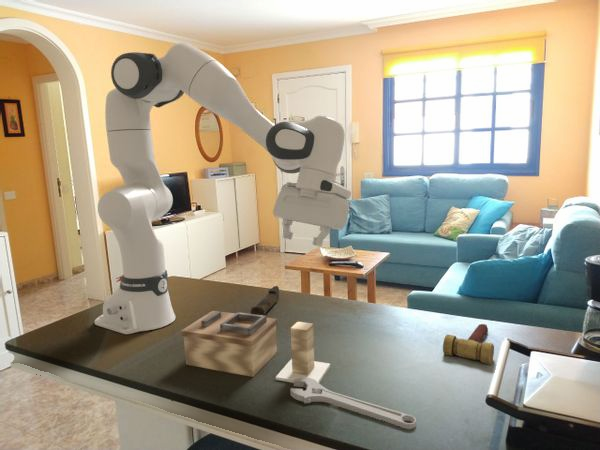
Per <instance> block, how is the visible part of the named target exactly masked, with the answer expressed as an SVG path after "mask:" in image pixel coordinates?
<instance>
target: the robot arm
mask: <svg viewBox="0 0 600 450" xmlns="http://www.w3.org/2000/svg"><path fill="white" fill-rule="evenodd" d="M110 77H111V81H112V84H113V86H114V87H115V88H114V89H112V90H110V91H108V93H107V95H106V98H105V112H104V113H105V115H104V116H105V117H104V118H105V128H106V130H105V131H106V137H107V143H108V144H107V145H108V153H109V159H110V163H111V164H112V166H114V167H115V168H116V169H117V170H118V172H119V174H120V176H121V178H122V181H123V183H124V185H120V186H119V185H118V186H117V187H114V188H112V189H110V190H109V191H107V192H105V193H103V194H102V195H101V196H100V198H99V200H98V202H97V214H98V216H99V218H100V220H101V221H102V222H103V224H105V225H106V226H108V228H110V229H111V231H112V233H113V234H114V236H115V238H116V240H117V243H118V247H119V250H120V257H121V263H122V264H121V265H122V271H123V272H122V273H123V274H122V275H120V276H119V277H116V278H115V280H116V281H115V282H116V283H118V282H119V288H118V289H117V290H115V291H114V292H113V293H112V294H111V295H110V296H108V298H106V299H105V300H104V302H103V305H102V314H101V315H99V316H98V317H96V318H95V320H94V325H96V326H98V327H101V328H104V329H108V330H111V331H114V332H117V333H120V334H123V335H130V334H134V333H139V332H147V331H150V330H157V329H161V328H163V327H166V326H168V325H169V324H172V323H174V321H175V320H176V318H177V317H176V314H175V312H174V309H173V306H172V302H171V296H170V294H169V289H168V288H169V277H168V276H169V275H168V271H167V270H166V263H165V262H166V261H165V250H164V249H165V248H164V244H163V242H162V241H161V240H160V239H158V237H157V236H156V234H155V231H154V228H153V225H152V222H153V221H156V220H158V219H160V218H162V217H163V216H165V215H166V214H167V213H168V212H169V211H170V210H171V208H172V207H173V204H174V202H173V201H174V198H173V194H172V192H171V190H170V189H169V187H167V185H165V183H164V181H163V179H162V176H161V173H160V171H159V167H158V164H157V161H156V156H155V148H154V143H153V134H152V126H151V120H150V118H151V117H150V115H151V110H152V108H153V107H156V108H158V109H159V108H161V107H164V106H165V105H168V104H170V103H173V102H175V101H177V100H179V99H181V97H183V95H184V93H185V94H186V96H188V97H189V98H191V100H192V101H194V102H196V103H197V104H198V105H200V106H201V107H203V108H204V109H206V110H208V111H210V112H211V113H213V114H215V115H217V116H218V117H220V118H222V119H224V120H225V121H227V122H229V123H231V124H232V125H235V126H236V127H237V128H239V129H240V130H242V131H243V132H244V133H246V135H248V136H249V137H251V138H252V139H253V140H254V141H255V142H256V143H258V144H259V145H261V147H263V148H264V149H265V150H266V151H267V152H268V153H269V155H270V156H271V158H272V159H271V160H272V161H273V163H274V165H275V166H276V167H277V168H278V169H279V170H280V171H281V172H283V173H286V174H291V175H292V174H297V173H298V176H297V180H296V182H292V181H288V182H286V183H285V184H283V185H282V186H281V189H280V192H278V195H277V197H276V200H275V204H274V205H273V206H274V207H273V209H272V210H273V211H272V213H273V217H275V218H277V219H282V222H281V223H282V228H283V234H282V238H283V239H285V240H292V239H293V234H294V232H292V230H291V226H292V225H293V222H296V223H303V224H308V225H312V226H317V227H319V234H318V235H317V236H316V237H315V236H314V237H313V241H312V245H313V246H316V247H322V246H323V244H324V240H325V239H326V238H327V236H329V234H330V232H331V229H333V230H339V231H342V230H343V229H344V228H345V227H346V226H347V223H348V222H347V221H348V217H349V213H350V212H349V211H350V203H349V199H350V198H351V196H352V195H351V194H352V190H350V189H349V188H347V187H345V186H343V185H341V184H340V183H339V182H336V181H337V175H338V174H337V170H338V166H339V163H340V161H341V159H342V155H343V150H344V145H345V138H346V137H345V136H346V135H345V129H344V127H343V125H342V124H341V123H340V122H339V121H337V120H336V119H334V118H332V117H330V116H327V115H321V114H320V115H316V116H314V117H312V118H310V119H306V120H300V121H281V122H278V123H276V124H275V123H273V122H271V121H270V120H269V119H268V118H267V117H266V116H265V115H263V114H262V113H261V112H260V111H258V109H257V108H256V107H255V106H254V105H253V104H252V102H251V100H250V99H249V98H248V96H247V94H246V92H245V91H244V88H242V85H241V84H240V82H239V80H237V78H236V77H235V76H234V75H233V73H231V72H230V71H229V70H228V69H227V68H226V67H225V66H224V65H223V64H222V63H221V62H220V61H218V60H217V59H215V58H214V57H212V56H211V55H209V54H208V53H206V52H205V51H203V50H201V49H199V48H198V47H196V46H193V45H192V44H189V43H187V42H180V43H179V42H178V43H176V44H173V46H171V47H170V48H169V49H168V51H167V52H166V54H165V55H164V56H161V57H157V55H155V53H147V52H134V51H133V52H126V53H122V54H120V55H119V56H117V57H116V58H115V60H114V61H113V63H112V65H111V69H110Z"/></svg>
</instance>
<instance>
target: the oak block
mask: <svg viewBox="0 0 600 450" xmlns="http://www.w3.org/2000/svg"><path fill="white" fill-rule="evenodd" d="M314 332H315V331H314V323H311V322H303V321H296V323H294V324H293V325H292V326H291V327H290V344H291V345H290V347H291V348H290V349H291V359H292V373H297V374H302V375H307V376H308V375H309V374H310V373H311V371H312V370H313V369H314V368H315V367H314V361H315V341H314V340H315V338H314V336H315V335H314Z"/></svg>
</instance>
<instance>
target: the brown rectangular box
mask: <svg viewBox="0 0 600 450" xmlns="http://www.w3.org/2000/svg"><path fill="white" fill-rule="evenodd" d="M277 325H278V318H275V317H274V318H273V317H267V315H265V316H263V315H255V314H251V313H246V312H239V311H237V312H236V313H233V312H227V311H225V312H224V311H217V310H211V311H210V312H208V313H207V314H204V316H202V317H200V318H199V319H197V320H196V321H194V322H192V323H191V324H190V325H188V326H186V327H185V328H182V329H181V330H180V331H181V332H180V333H181V336H182V337H183V342H184V343H183V344H184V355H185V356H184V357H185V365H187V366H192V367H197V368H203V369H208V370H214V371H218V372H225V373H230V374H235V375H241V376H245V377H246V376H247V377H255V375H257V374H258V373H259V372H260V370H262V369H263V367H264V366H265V365H266V364H267V363H268V362H269V361H270V360H271V359H272V358H273V357H274V356H275V355H276V354H277V353H278V343H277Z"/></svg>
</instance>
